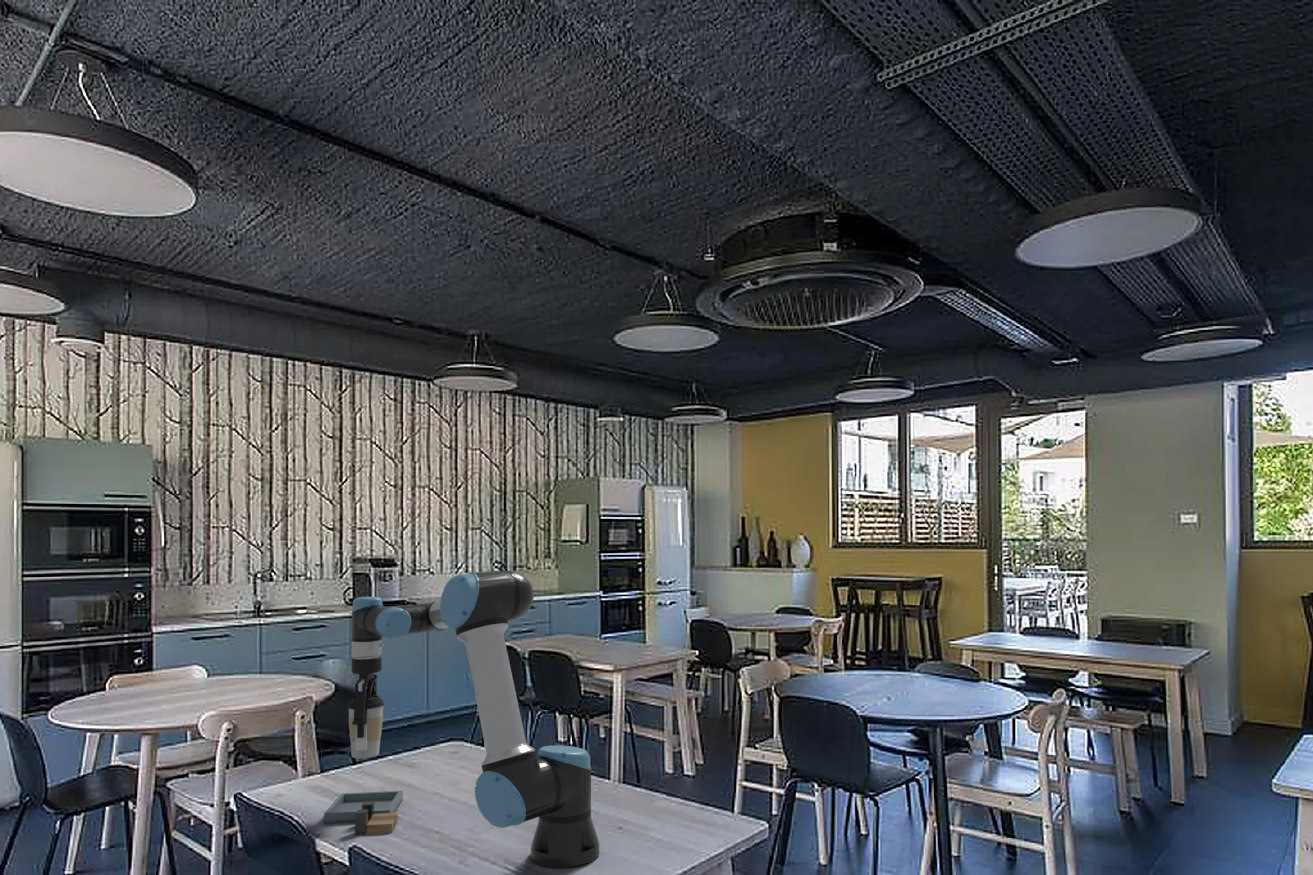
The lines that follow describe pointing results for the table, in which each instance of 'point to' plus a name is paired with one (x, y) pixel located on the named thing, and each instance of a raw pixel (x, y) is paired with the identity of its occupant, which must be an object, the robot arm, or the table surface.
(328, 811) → the tray
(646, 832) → the table surface
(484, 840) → the table surface
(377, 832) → the wooden block
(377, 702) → the coffee cup
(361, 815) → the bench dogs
